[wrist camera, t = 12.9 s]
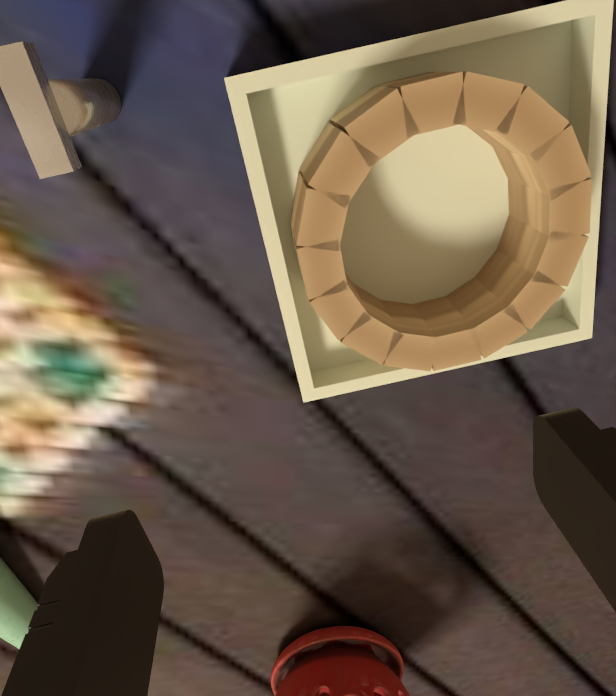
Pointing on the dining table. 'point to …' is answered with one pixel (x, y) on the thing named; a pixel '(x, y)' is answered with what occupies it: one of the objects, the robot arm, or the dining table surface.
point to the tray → (422, 176)
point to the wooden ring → (515, 243)
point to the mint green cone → (14, 607)
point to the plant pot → (339, 665)
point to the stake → (52, 108)
